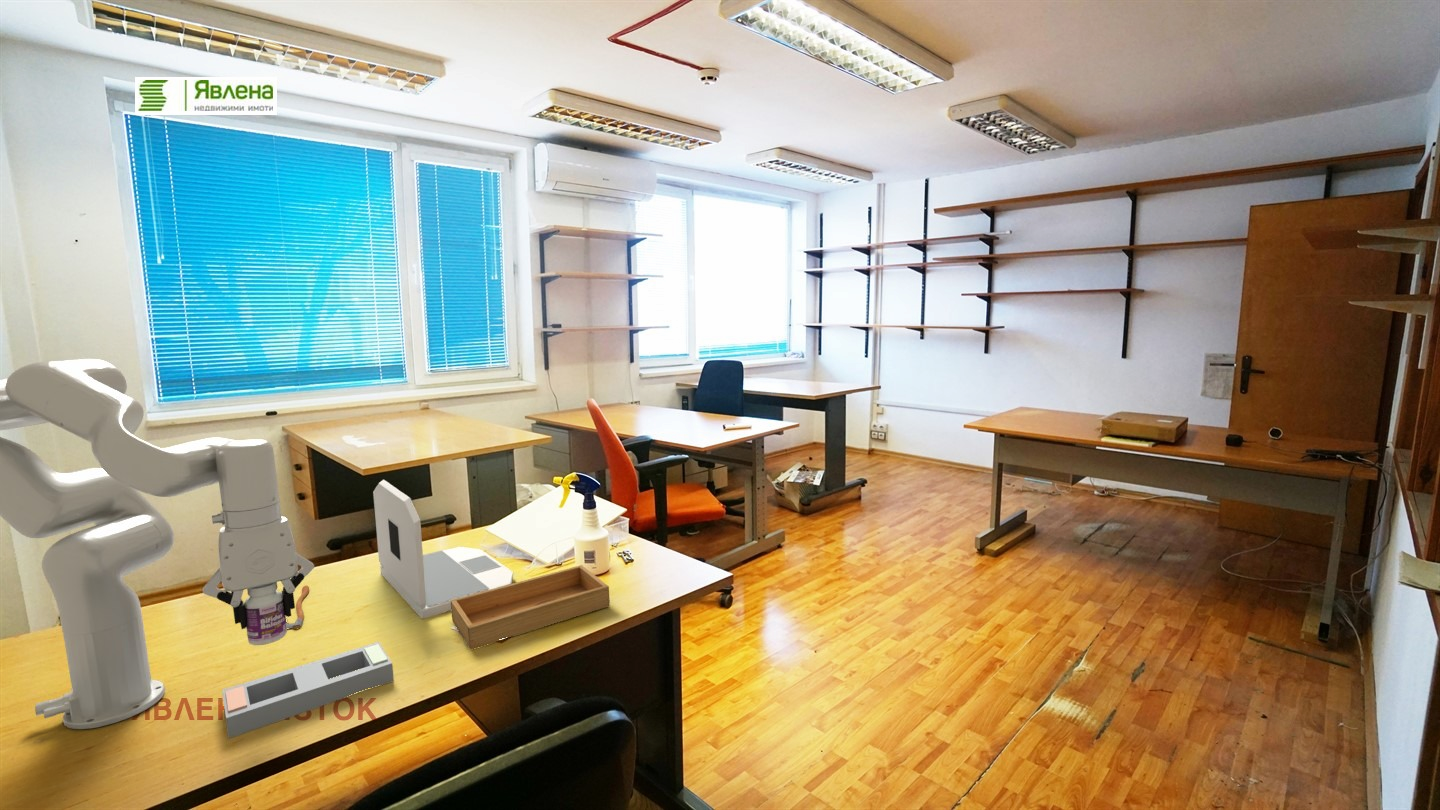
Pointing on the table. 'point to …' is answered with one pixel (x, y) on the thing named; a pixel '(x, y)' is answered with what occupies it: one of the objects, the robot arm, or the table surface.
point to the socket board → (304, 688)
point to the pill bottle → (265, 614)
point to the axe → (299, 610)
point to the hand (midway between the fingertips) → (266, 618)
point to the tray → (528, 605)
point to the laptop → (427, 559)
